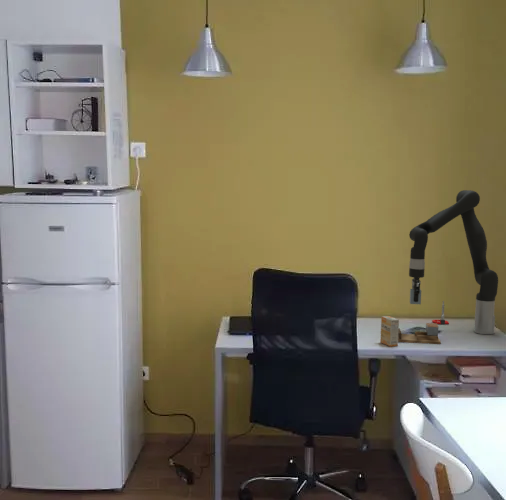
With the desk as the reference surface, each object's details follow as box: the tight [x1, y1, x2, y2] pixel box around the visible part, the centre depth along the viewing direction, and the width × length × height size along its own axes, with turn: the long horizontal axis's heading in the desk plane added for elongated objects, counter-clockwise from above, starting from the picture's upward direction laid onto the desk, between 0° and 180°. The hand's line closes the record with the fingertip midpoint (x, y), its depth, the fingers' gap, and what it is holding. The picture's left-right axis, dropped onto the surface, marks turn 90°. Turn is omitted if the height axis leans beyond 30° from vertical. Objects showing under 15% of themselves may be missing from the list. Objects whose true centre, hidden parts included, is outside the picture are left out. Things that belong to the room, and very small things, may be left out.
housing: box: [409, 288, 422, 305], centre depth 333 cm, size 5×4×8 cm
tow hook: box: [431, 300, 450, 325], centre depth 361 cm, size 8×13×9 cm
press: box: [398, 328, 442, 345], centre depth 323 cm, size 20×12×4 cm, turn 83°
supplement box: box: [379, 315, 400, 348], centre depth 314 cm, size 8×5×13 cm, turn 23°
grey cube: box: [425, 322, 439, 337], centre depth 322 cm, size 5×6×6 cm
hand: (415, 300), depth 333 cm, fingers closed on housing, 4 cm apart
